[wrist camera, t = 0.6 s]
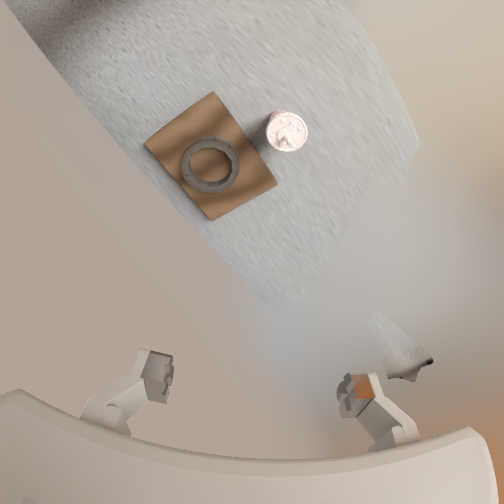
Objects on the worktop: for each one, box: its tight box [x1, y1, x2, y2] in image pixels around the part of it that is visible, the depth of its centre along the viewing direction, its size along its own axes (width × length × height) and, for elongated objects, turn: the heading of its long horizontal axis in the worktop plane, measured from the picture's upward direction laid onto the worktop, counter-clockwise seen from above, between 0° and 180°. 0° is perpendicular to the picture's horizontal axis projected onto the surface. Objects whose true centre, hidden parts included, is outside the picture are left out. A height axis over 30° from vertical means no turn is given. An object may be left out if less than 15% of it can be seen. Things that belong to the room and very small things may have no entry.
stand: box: [144, 91, 277, 221], centre depth 49 cm, size 22×16×4 cm
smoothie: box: [266, 110, 307, 152], centre depth 40 cm, size 6×6×14 cm
